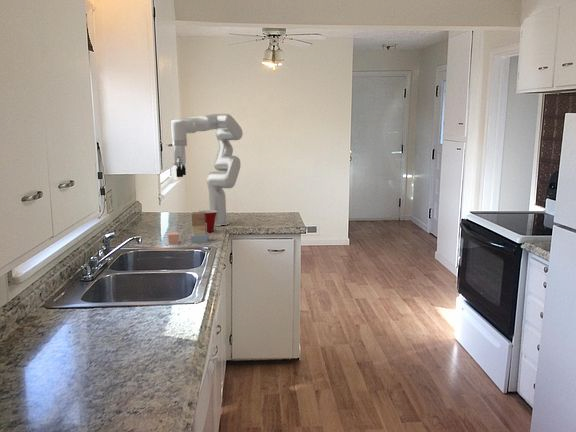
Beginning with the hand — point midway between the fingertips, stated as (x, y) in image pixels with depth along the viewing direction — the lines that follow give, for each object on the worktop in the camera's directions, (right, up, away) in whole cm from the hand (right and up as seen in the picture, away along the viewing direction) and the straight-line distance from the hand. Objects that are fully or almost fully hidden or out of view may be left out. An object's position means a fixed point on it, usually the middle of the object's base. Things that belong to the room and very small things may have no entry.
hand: (181, 176), depth 265 cm
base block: (+11, -34, -7) cm, 37 cm away
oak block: (+11, -30, -7) cm, 33 cm away
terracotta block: (-2, -35, -11) cm, 37 cm away
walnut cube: (+11, -26, -9) cm, 29 cm away
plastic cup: (+12, -30, +14) cm, 36 cm away
